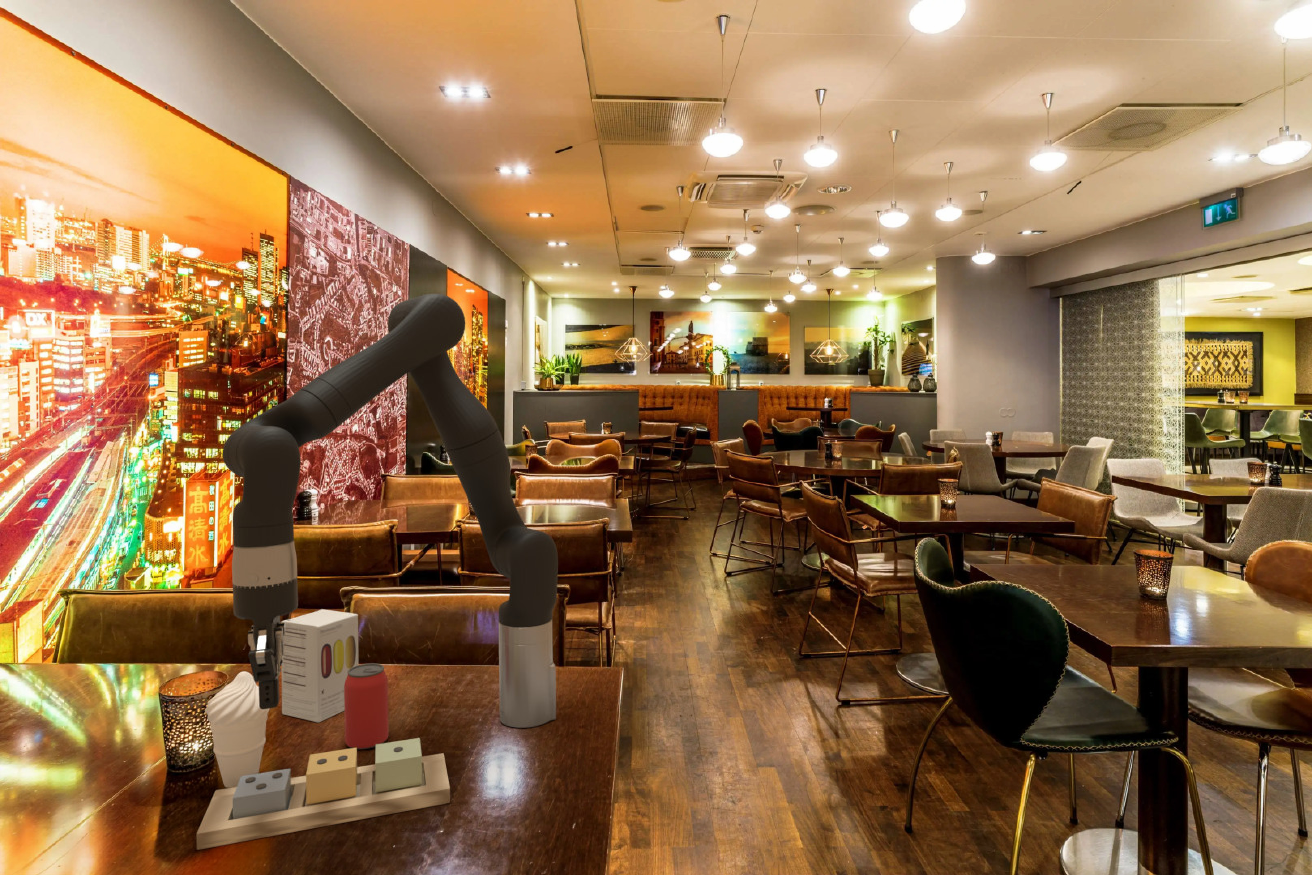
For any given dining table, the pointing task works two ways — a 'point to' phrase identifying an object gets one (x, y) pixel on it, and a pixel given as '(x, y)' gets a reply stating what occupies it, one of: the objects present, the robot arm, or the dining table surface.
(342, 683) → the supplement box
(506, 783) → the dining table surface
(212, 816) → the board
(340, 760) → the tile two
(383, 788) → the tile one
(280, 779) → the tile three
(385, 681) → the beer can
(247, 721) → the soft serve ice cream cone
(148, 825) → the dining table surface
